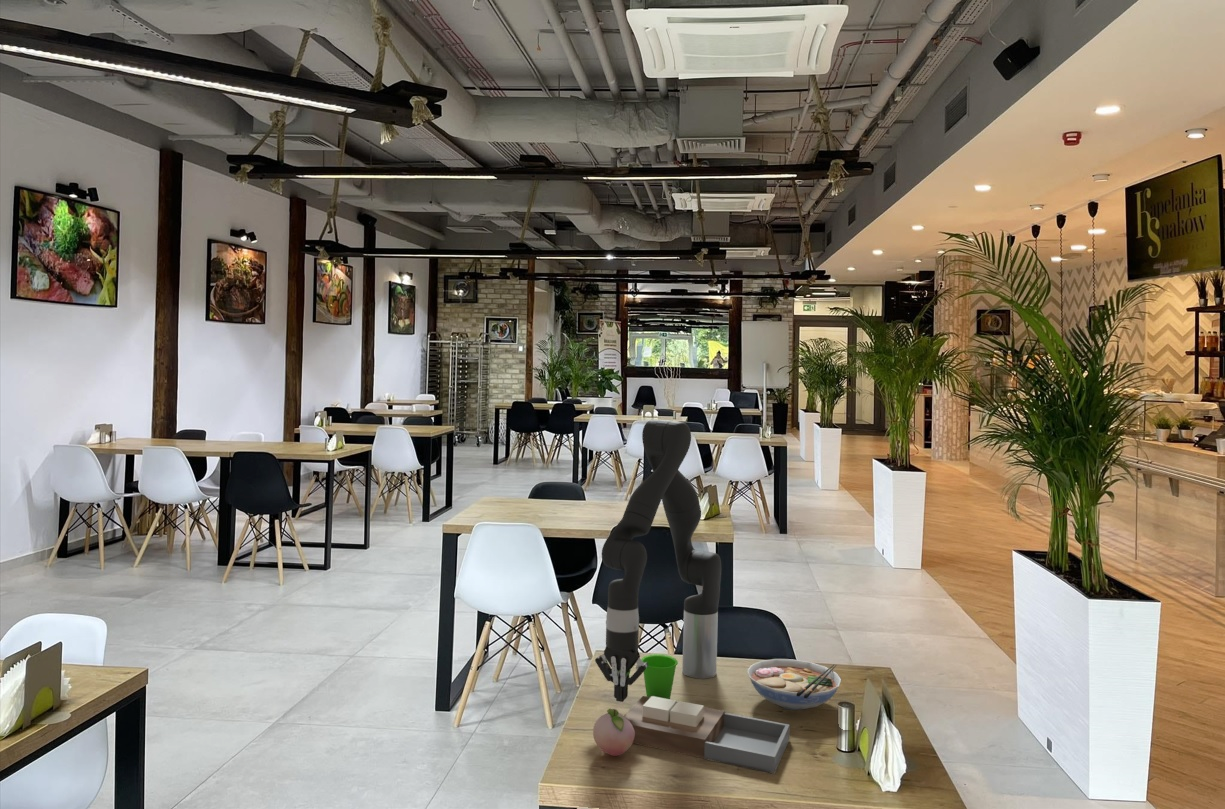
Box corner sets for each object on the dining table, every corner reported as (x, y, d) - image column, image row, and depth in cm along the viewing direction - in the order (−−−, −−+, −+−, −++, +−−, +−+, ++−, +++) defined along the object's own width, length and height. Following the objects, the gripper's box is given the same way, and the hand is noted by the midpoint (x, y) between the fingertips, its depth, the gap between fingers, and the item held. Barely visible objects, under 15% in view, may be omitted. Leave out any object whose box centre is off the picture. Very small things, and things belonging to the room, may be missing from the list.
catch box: (724, 727, 184) (724, 712, 184) (789, 740, 178) (789, 724, 178) (704, 758, 169) (704, 742, 168) (774, 773, 163) (774, 756, 163)
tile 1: (651, 706, 185) (651, 695, 185) (676, 711, 183) (676, 700, 183) (642, 716, 179) (642, 705, 179) (667, 721, 177) (668, 710, 177)
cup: (633, 707, 194) (634, 663, 193) (649, 695, 202) (650, 652, 201) (667, 716, 189) (668, 670, 189) (682, 702, 197) (683, 658, 197)
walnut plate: (642, 712, 191) (643, 695, 191) (724, 728, 184) (724, 710, 183) (617, 739, 177) (617, 722, 176) (704, 758, 169) (705, 739, 169)
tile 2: (678, 711, 182) (678, 700, 182) (703, 716, 180) (704, 705, 180) (669, 722, 177) (670, 710, 177) (696, 727, 175) (696, 715, 175)
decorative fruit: (586, 750, 171) (587, 704, 171) (620, 743, 175) (621, 698, 174) (603, 770, 163) (604, 722, 163) (639, 763, 166) (640, 715, 166)
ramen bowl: (769, 678, 215) (770, 648, 214) (854, 699, 202) (855, 667, 201) (728, 709, 194) (729, 676, 194) (819, 735, 181) (821, 699, 181)
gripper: (655, 625, 185) (653, 699, 185) (602, 617, 190) (600, 689, 191) (643, 634, 178) (641, 711, 178) (589, 626, 183) (587, 701, 184)
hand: (620, 700), depth 185 cm, fingers closed
